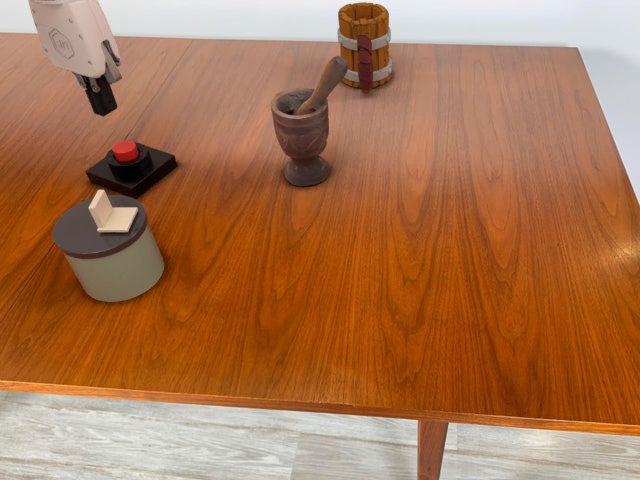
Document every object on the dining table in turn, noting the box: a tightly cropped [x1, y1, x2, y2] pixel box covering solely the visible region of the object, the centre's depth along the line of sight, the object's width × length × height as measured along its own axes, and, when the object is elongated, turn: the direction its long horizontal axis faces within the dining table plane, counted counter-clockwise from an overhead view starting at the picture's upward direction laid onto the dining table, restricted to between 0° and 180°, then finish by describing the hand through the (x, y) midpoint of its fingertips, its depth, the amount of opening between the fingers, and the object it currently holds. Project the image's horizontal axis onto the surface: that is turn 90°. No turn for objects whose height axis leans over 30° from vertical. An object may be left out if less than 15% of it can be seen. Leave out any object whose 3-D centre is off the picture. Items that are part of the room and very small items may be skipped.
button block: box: [85, 139, 179, 200], centre depth 95 cm, size 10×10×4 cm
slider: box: [89, 189, 138, 232], centre depth 73 cm, size 4×4×4 cm
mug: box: [337, 1, 393, 95], centre depth 111 cm, size 11×16×15 cm, turn 2°
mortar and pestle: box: [270, 55, 348, 187], centre depth 89 cm, size 12×9×20 cm
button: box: [111, 139, 139, 161], centre depth 93 cm, size 4×4×2 cm
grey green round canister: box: [52, 194, 165, 303], centre depth 78 cm, size 11×11×9 cm
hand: (106, 111), depth 88 cm, fingers closed
